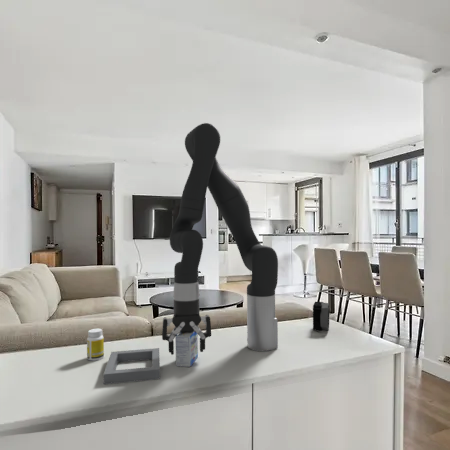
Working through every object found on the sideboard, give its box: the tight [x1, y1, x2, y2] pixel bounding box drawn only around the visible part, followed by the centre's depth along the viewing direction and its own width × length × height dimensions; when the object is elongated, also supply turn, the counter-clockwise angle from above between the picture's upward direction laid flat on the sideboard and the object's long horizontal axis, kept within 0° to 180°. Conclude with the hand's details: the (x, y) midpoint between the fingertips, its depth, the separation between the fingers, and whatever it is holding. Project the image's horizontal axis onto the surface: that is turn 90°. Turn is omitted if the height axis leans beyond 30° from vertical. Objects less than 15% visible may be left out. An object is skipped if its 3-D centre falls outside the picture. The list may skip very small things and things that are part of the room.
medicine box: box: [174, 330, 199, 368], centre depth 101 cm, size 8×4×9 cm, turn 168°
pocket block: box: [102, 347, 161, 385], centre depth 96 cm, size 14×16×2 cm
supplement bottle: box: [86, 328, 105, 362], centre depth 104 cm, size 5×5×8 cm
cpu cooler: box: [312, 301, 330, 332], centre depth 131 cm, size 10×6×10 cm, turn 159°
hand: (186, 352), depth 101 cm, fingers open, 8 cm apart
